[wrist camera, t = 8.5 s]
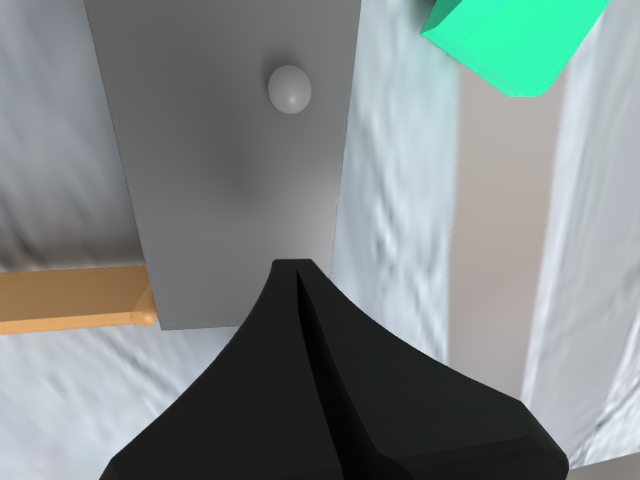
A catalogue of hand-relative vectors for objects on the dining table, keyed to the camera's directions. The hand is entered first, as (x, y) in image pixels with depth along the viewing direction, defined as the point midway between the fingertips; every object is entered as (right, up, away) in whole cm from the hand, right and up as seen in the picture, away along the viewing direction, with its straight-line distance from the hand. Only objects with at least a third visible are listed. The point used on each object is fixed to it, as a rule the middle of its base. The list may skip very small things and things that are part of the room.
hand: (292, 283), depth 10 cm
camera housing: (-3, +6, +7) cm, 10 cm away
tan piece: (-15, -1, +8) cm, 17 cm away
